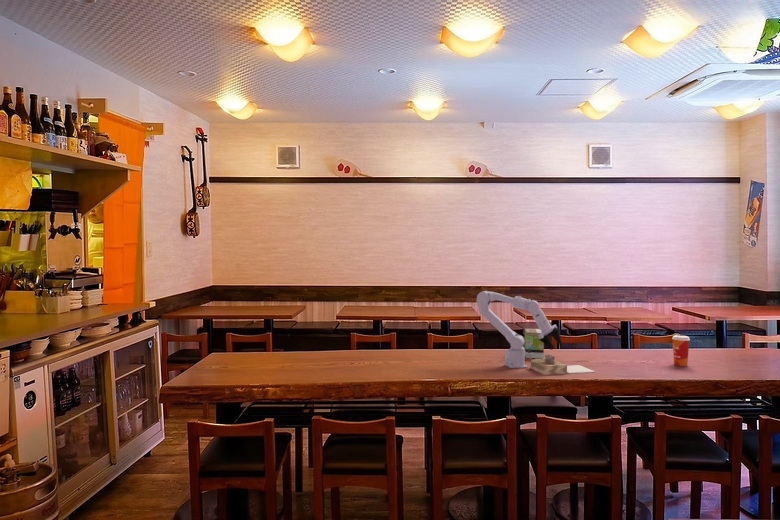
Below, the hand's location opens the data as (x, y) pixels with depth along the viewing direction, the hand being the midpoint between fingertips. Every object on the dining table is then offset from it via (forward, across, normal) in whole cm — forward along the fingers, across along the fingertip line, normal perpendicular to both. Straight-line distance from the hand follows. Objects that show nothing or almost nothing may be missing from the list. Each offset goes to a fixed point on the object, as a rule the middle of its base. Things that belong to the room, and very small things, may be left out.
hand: (556, 346), depth 252 cm
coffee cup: (+41, +51, -23) cm, 70 cm away
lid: (+6, -7, +4) cm, 10 cm away
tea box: (+4, +16, +30) cm, 34 cm away
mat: (+14, +3, 0) cm, 15 cm away
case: (+8, -9, +5) cm, 13 cm away
